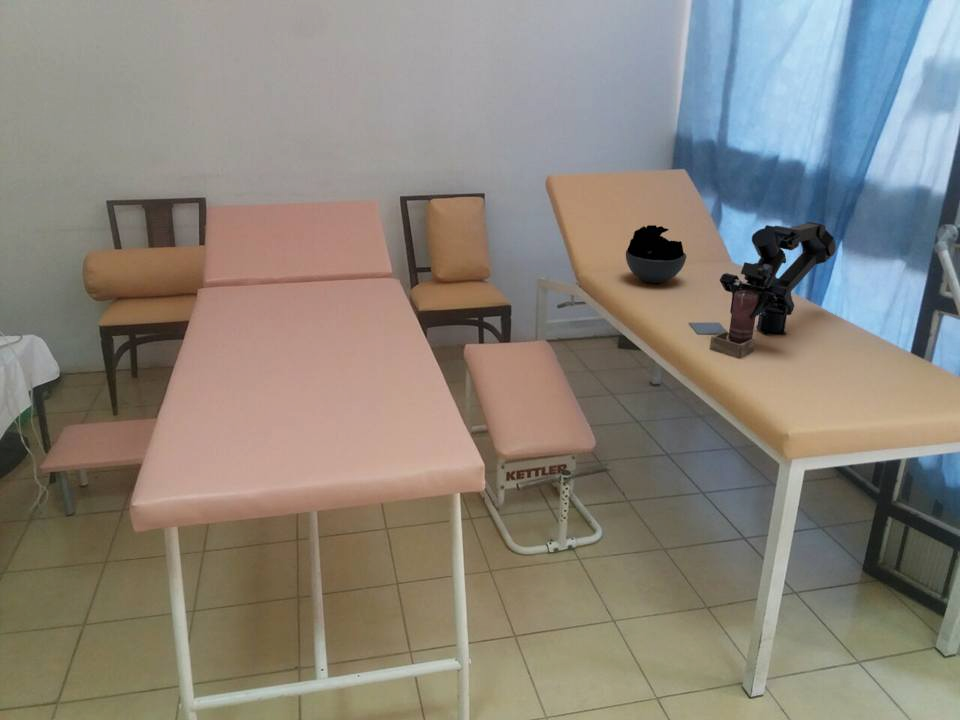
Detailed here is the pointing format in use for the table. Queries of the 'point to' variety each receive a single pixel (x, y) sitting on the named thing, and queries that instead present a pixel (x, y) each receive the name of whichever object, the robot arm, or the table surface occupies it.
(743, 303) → the can
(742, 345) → the bracket
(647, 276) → the coal bowl
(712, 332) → the mat
